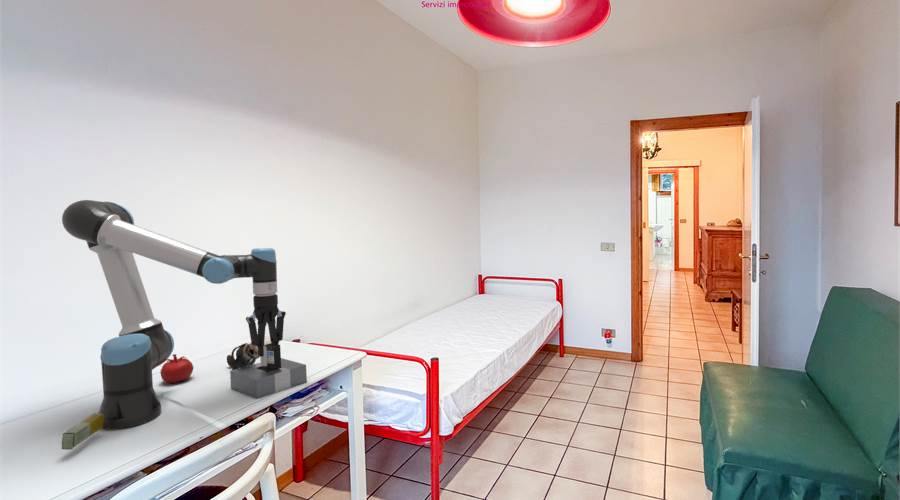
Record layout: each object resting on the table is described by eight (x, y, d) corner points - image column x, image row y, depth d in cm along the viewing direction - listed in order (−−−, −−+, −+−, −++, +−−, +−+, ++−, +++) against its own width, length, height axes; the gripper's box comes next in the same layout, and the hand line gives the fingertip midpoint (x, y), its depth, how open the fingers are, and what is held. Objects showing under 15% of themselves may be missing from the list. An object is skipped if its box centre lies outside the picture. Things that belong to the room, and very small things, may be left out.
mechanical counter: (253, 372, 167) (252, 345, 166) (219, 372, 167) (217, 345, 166) (261, 366, 174) (260, 340, 173) (229, 366, 174) (227, 341, 174)
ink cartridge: (265, 368, 150) (263, 344, 150) (270, 366, 152) (269, 342, 152) (275, 369, 148) (274, 345, 148) (281, 367, 150) (280, 344, 150)
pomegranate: (199, 377, 162) (198, 351, 162) (171, 386, 153) (170, 359, 153) (182, 373, 167) (181, 348, 166) (154, 382, 158) (153, 356, 158)
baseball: (251, 354, 191) (250, 338, 191) (267, 350, 197) (266, 335, 196) (259, 357, 187) (258, 341, 186) (275, 353, 192) (274, 337, 192)
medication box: (72, 449, 109) (73, 433, 109) (60, 449, 109) (61, 433, 109) (104, 427, 121) (104, 412, 121) (93, 427, 121) (93, 412, 121)
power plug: (235, 374, 163) (249, 347, 160) (249, 386, 161) (263, 360, 158) (223, 378, 158) (236, 351, 155) (237, 392, 156) (251, 364, 153)
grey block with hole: (257, 398, 140) (256, 379, 139) (231, 388, 149) (230, 370, 149) (306, 382, 154) (306, 364, 154) (280, 373, 164) (279, 357, 163)
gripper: (249, 298, 142) (252, 372, 143) (292, 292, 154) (295, 360, 155) (236, 296, 146) (240, 368, 147) (280, 290, 159) (282, 356, 160)
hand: (268, 364), depth 151 cm, fingers closed on ink cartridge, 2 cm apart
